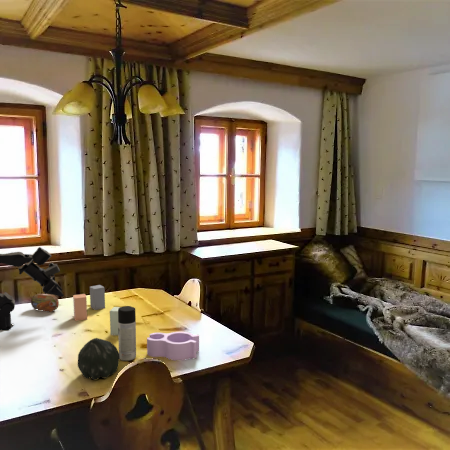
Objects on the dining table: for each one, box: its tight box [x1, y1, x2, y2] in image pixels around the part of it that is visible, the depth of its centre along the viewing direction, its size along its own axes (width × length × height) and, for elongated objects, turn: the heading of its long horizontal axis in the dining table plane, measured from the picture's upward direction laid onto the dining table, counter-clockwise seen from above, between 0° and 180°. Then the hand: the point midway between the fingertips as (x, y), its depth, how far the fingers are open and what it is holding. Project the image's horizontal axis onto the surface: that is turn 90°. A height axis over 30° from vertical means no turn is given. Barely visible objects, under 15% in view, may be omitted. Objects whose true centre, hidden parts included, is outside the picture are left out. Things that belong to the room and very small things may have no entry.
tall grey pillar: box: [89, 284, 106, 311], centre depth 240 cm, size 6×6×11 cm
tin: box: [30, 293, 60, 313], centre depth 235 cm, size 15×3×8 cm, turn 73°
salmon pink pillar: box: [72, 293, 88, 322], centre depth 224 cm, size 6×6×11 cm
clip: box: [146, 331, 200, 361], centre depth 186 cm, size 20×12×7 cm, turn 84°
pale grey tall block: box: [109, 306, 121, 336], centre depth 206 cm, size 6×6×11 cm
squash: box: [77, 337, 120, 381], centre depth 167 cm, size 14×15×15 cm
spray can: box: [117, 305, 137, 362], centre depth 181 cm, size 7×7×20 cm
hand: (62, 293), depth 220 cm, fingers open, 9 cm apart
